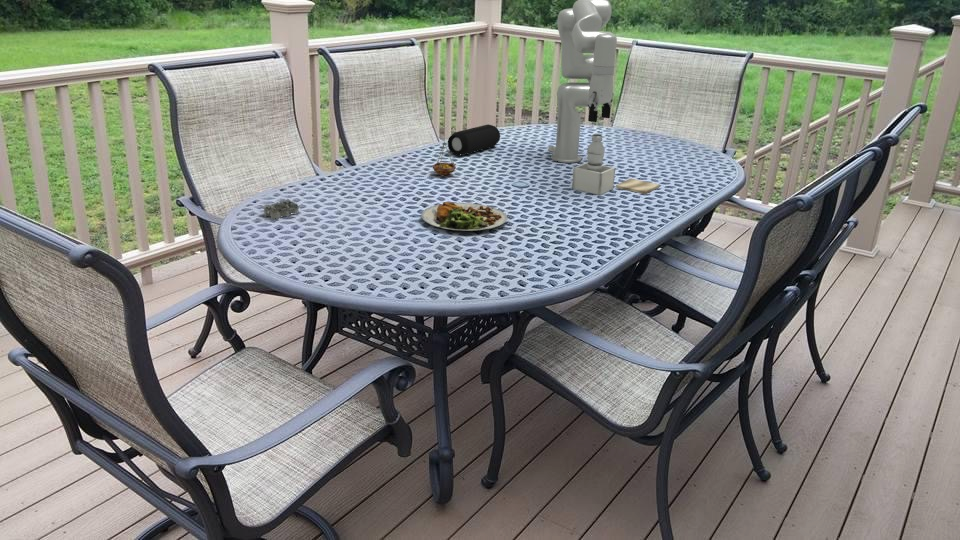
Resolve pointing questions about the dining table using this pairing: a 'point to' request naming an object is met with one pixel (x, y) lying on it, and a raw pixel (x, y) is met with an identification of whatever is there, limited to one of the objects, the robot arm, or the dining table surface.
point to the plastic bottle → (595, 154)
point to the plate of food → (463, 216)
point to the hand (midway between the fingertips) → (599, 119)
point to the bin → (593, 179)
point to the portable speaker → (473, 139)
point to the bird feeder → (444, 167)
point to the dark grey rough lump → (280, 209)
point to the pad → (637, 186)
